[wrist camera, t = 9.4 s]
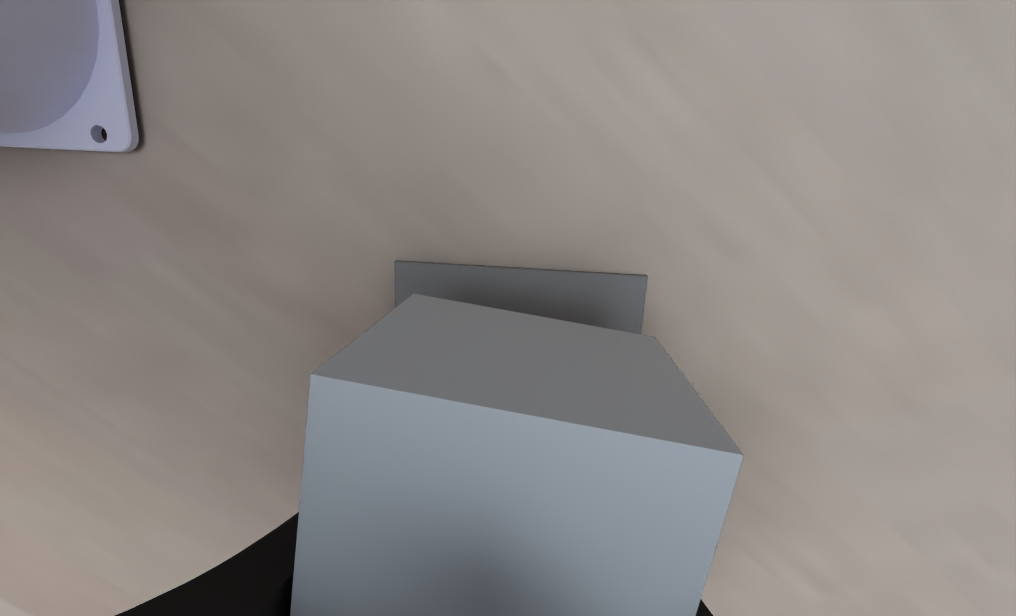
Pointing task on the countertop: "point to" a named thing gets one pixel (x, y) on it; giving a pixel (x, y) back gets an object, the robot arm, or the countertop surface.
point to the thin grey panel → (531, 291)
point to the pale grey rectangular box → (506, 471)
